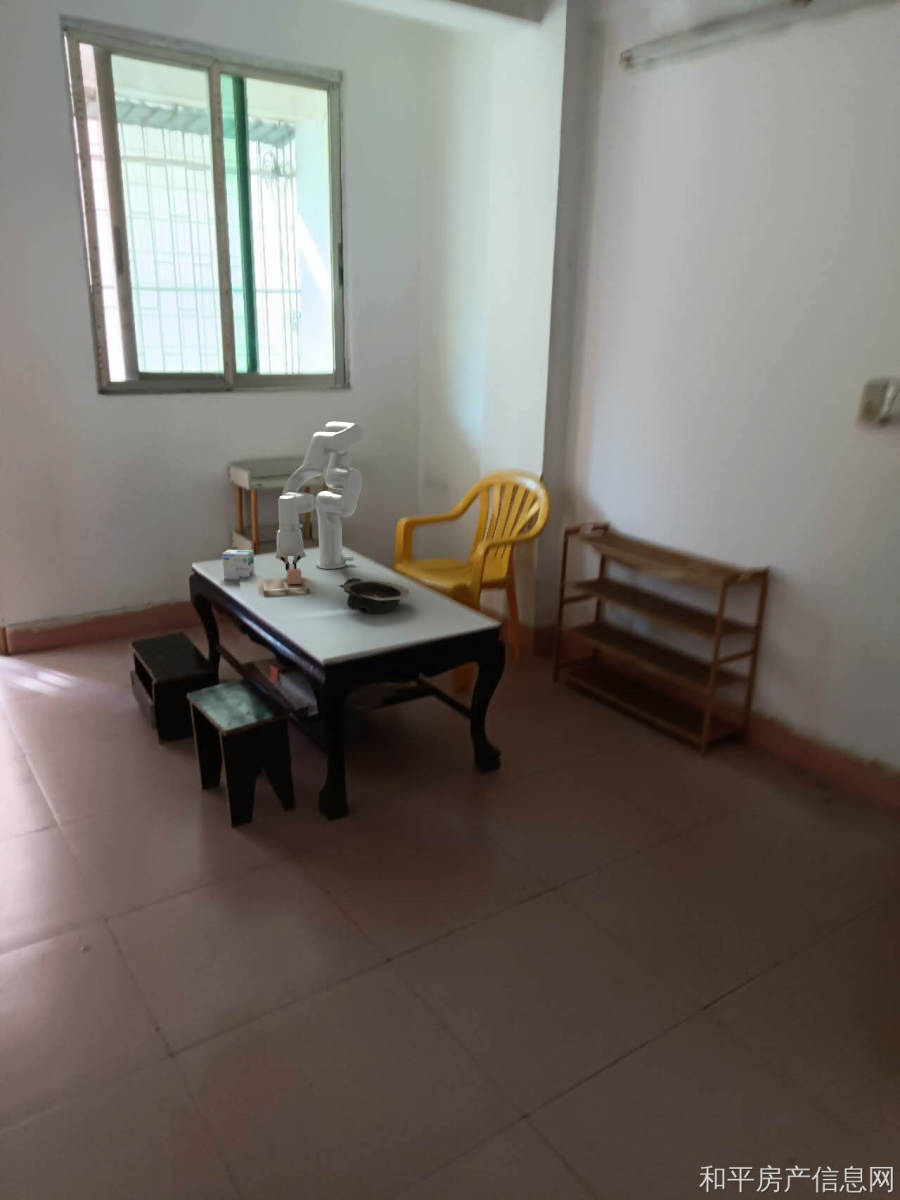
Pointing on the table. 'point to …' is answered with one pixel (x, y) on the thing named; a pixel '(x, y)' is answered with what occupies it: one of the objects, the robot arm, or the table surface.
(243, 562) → the light bulb box
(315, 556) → the table surface
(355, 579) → the stone bowl
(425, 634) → the table surface
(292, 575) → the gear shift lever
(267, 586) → the lane shelf
